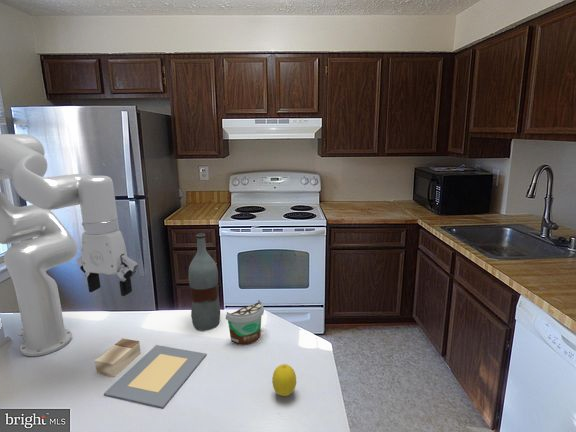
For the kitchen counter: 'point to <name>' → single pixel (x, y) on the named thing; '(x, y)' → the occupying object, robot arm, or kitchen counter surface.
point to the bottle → (204, 288)
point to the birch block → (117, 357)
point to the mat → (156, 376)
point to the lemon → (284, 380)
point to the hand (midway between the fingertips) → (110, 291)
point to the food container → (245, 324)
